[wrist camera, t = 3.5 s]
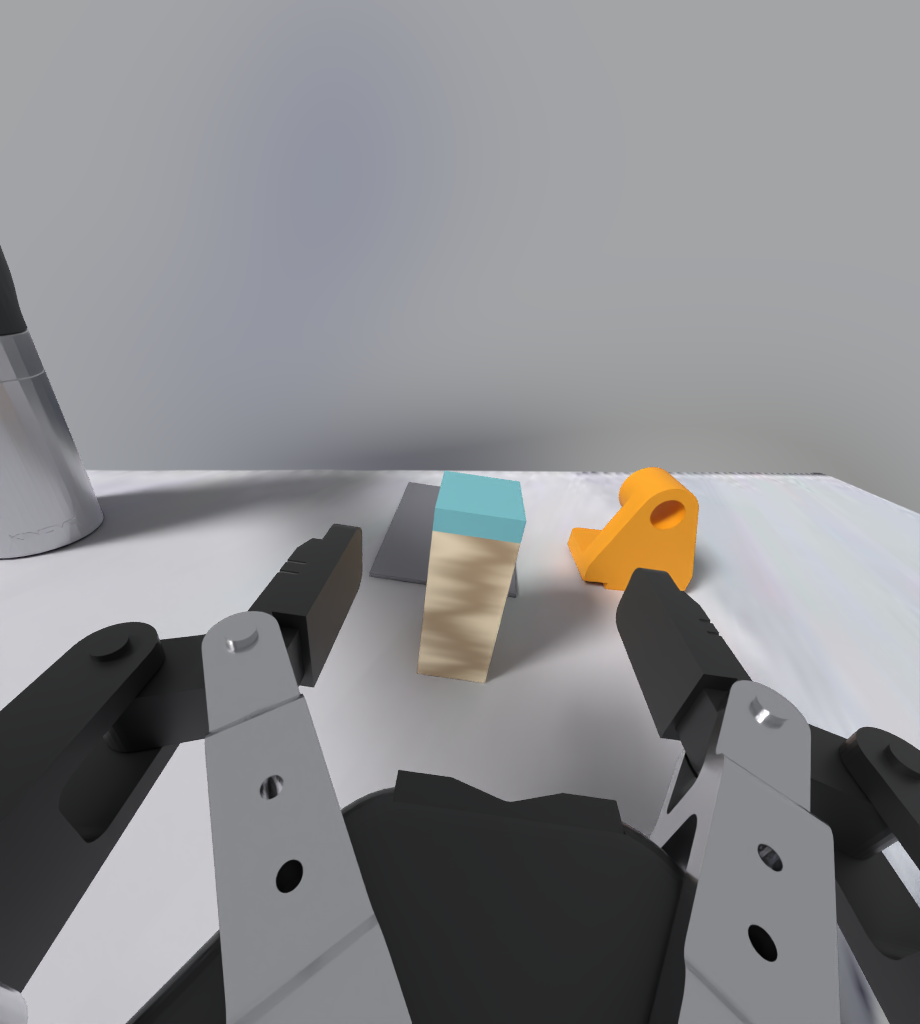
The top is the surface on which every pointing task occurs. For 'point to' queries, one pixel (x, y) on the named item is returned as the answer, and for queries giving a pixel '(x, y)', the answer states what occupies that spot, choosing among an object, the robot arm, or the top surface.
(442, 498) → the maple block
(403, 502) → the rubber mat
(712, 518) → the top surface
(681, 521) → the bracket
